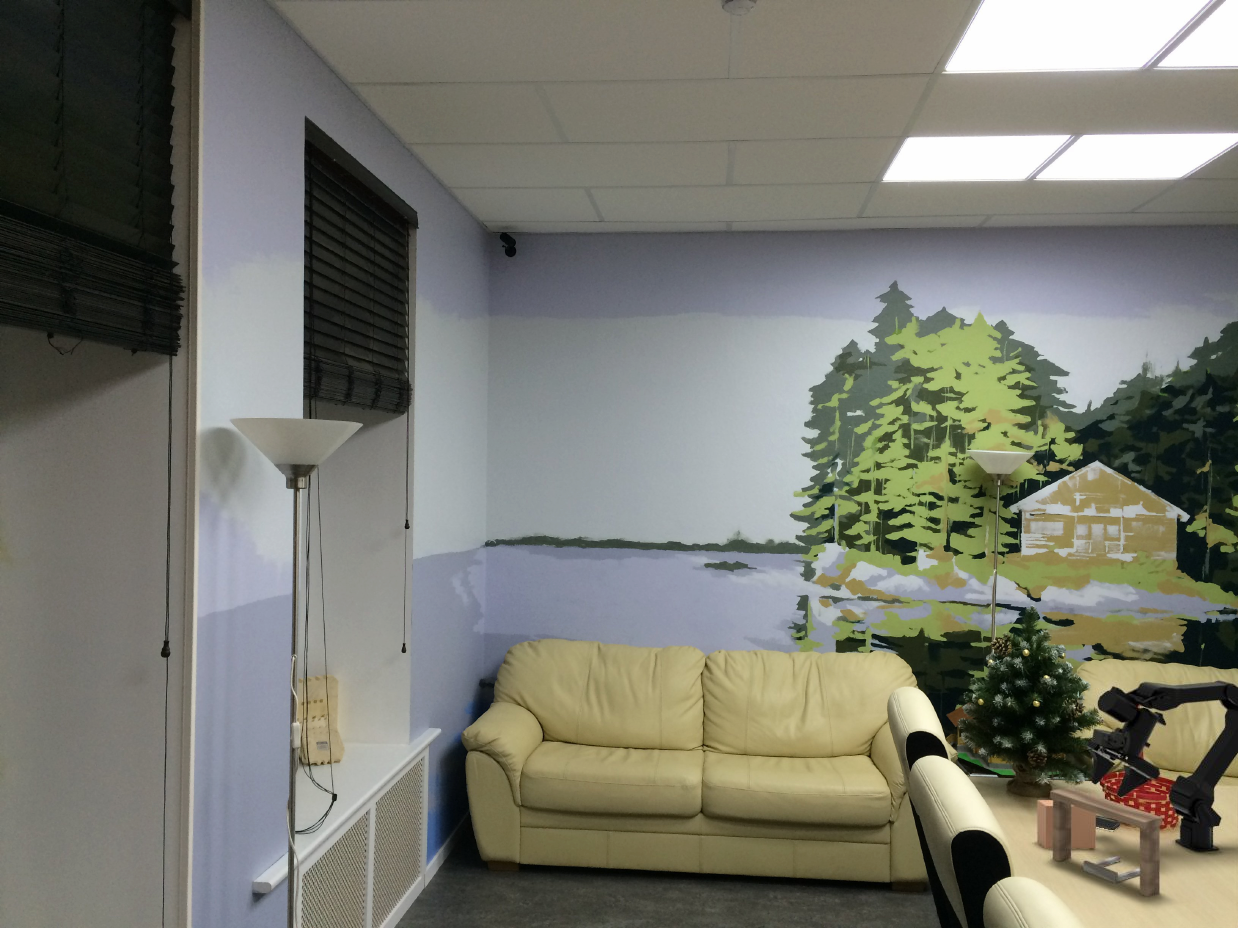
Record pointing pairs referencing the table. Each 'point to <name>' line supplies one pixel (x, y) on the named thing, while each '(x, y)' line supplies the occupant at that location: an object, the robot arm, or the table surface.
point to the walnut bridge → (1115, 811)
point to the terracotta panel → (1080, 826)
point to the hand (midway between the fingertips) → (1105, 789)
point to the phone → (1106, 823)
